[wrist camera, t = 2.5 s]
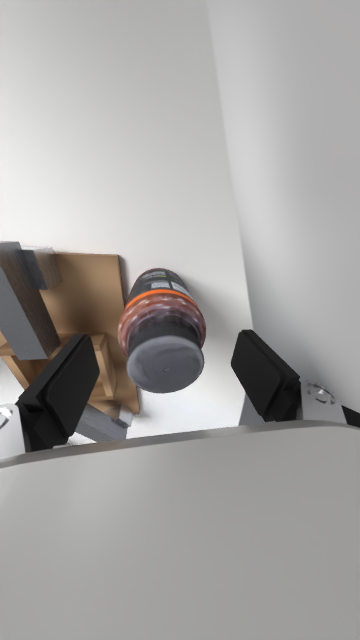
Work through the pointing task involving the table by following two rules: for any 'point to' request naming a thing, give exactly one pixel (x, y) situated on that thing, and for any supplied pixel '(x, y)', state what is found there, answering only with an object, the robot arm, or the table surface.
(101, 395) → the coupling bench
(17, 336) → the pair of grey blocks
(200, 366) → the supplement bottle
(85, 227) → the table surface
